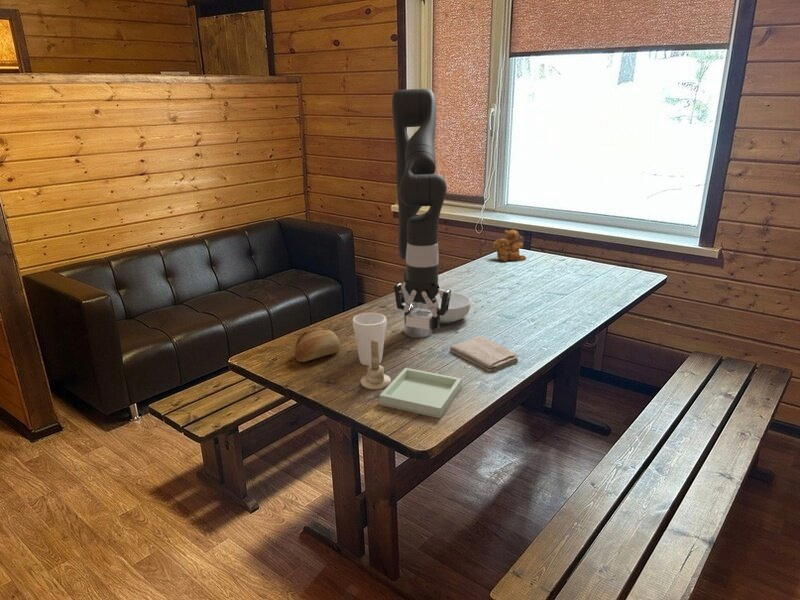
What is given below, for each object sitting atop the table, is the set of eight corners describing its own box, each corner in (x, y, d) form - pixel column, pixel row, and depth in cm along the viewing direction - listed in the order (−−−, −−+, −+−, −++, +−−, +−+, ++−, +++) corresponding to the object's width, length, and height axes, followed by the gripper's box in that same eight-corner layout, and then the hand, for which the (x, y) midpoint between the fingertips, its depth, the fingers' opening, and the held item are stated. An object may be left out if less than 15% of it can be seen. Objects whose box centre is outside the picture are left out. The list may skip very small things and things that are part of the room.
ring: (415, 317, 144) (415, 307, 143) (438, 320, 142) (438, 311, 141) (405, 325, 139) (405, 316, 138) (429, 329, 137) (429, 319, 136)
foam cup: (347, 360, 167) (345, 318, 162) (371, 350, 173) (370, 310, 168) (369, 371, 161) (368, 328, 156) (393, 360, 167) (393, 318, 162)
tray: (405, 376, 157) (405, 367, 157) (461, 387, 151) (462, 378, 150) (379, 404, 144) (379, 395, 143) (440, 418, 138) (440, 408, 137)
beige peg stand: (369, 372, 160) (367, 332, 155) (395, 378, 157) (395, 337, 152) (355, 386, 153) (353, 344, 149) (382, 391, 150) (382, 349, 146)
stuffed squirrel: (527, 259, 260) (529, 230, 255) (503, 264, 253) (505, 235, 249) (512, 254, 268) (514, 226, 263) (488, 259, 261) (490, 230, 257)
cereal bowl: (467, 330, 186) (468, 310, 184) (416, 326, 190) (416, 306, 187) (472, 311, 202) (472, 292, 200) (424, 308, 205) (424, 289, 203)
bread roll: (286, 358, 169) (284, 333, 166) (328, 343, 178) (326, 319, 176) (305, 369, 162) (304, 343, 159) (347, 353, 172) (346, 328, 169)
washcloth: (491, 374, 159) (492, 364, 158) (447, 352, 172) (447, 343, 171) (520, 362, 166) (521, 352, 165) (476, 342, 179) (476, 332, 178)
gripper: (456, 260, 136) (455, 326, 141) (400, 253, 141) (401, 317, 147) (446, 269, 129) (444, 338, 135) (387, 262, 135) (388, 328, 141)
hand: (422, 327), depth 141 cm, fingers closed on ring, 6 cm apart
